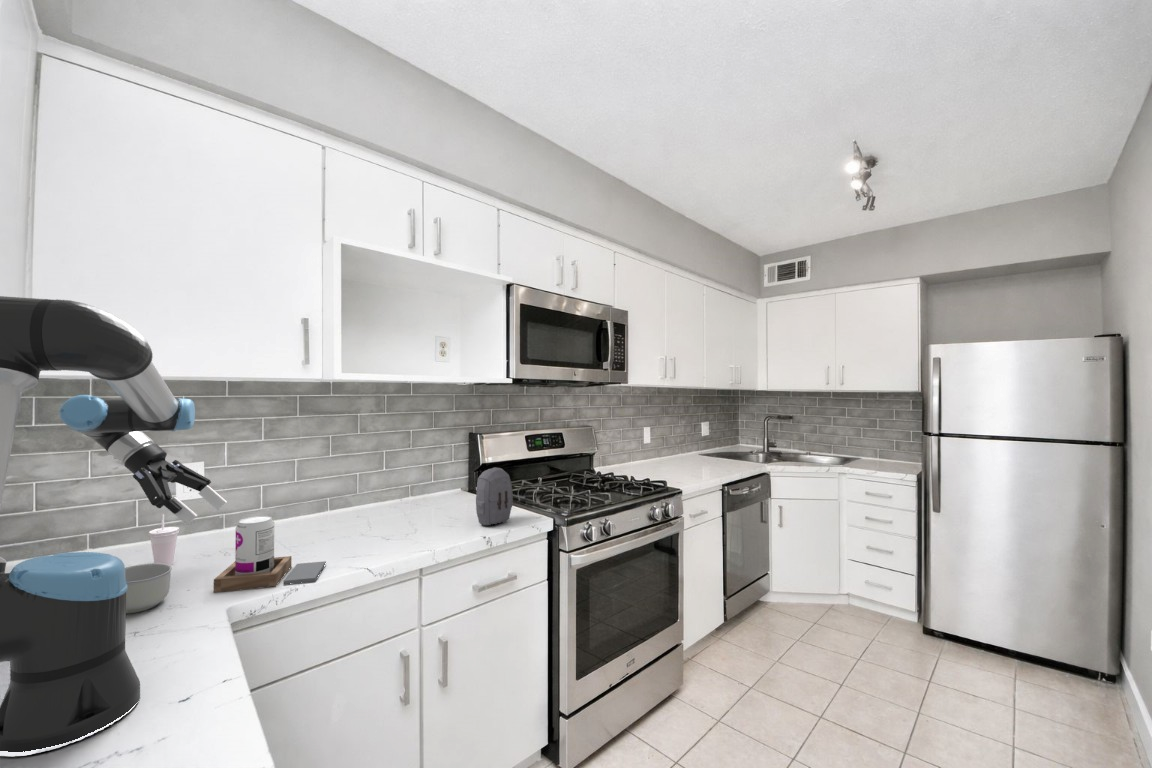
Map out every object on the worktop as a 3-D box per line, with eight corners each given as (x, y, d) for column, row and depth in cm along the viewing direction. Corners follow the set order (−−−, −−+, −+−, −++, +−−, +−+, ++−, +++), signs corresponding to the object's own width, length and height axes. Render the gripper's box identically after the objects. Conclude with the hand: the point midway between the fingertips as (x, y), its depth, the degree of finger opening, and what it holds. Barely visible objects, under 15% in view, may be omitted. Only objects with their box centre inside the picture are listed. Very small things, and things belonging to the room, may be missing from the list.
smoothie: (142, 570, 128) (142, 517, 128) (158, 562, 135) (159, 511, 135) (169, 569, 129) (169, 516, 129) (184, 560, 136) (185, 510, 136)
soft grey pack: (503, 517, 181) (503, 463, 182) (519, 521, 176) (519, 466, 176) (471, 526, 170) (471, 469, 170) (487, 531, 164) (487, 471, 165)
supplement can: (234, 588, 117) (234, 525, 117) (236, 577, 124) (236, 518, 124) (274, 581, 122) (274, 521, 122) (273, 570, 129) (274, 513, 129)
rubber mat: (315, 581, 121) (315, 577, 121) (283, 584, 119) (283, 580, 119) (325, 564, 133) (325, 561, 133) (297, 567, 131) (297, 563, 131)
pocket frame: (275, 586, 118) (275, 574, 118) (213, 592, 115) (213, 579, 115) (291, 567, 131) (291, 556, 131) (235, 572, 127) (235, 560, 127)
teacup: (165, 592, 115) (165, 558, 115) (176, 606, 108) (177, 569, 108) (81, 613, 104) (81, 576, 104) (88, 630, 97) (88, 589, 97)
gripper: (160, 457, 130) (222, 511, 133) (85, 473, 106) (163, 539, 108) (182, 437, 131) (244, 491, 134) (113, 448, 107) (190, 514, 109)
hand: (208, 512), depth 121 cm, fingers open, 13 cm apart
